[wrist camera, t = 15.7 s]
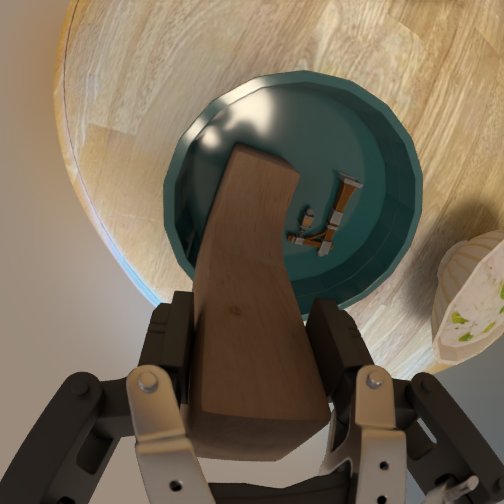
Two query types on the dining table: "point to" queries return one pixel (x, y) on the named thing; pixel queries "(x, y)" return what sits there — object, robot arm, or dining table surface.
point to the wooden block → (250, 323)
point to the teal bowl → (307, 178)
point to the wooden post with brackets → (334, 217)
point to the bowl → (469, 298)
